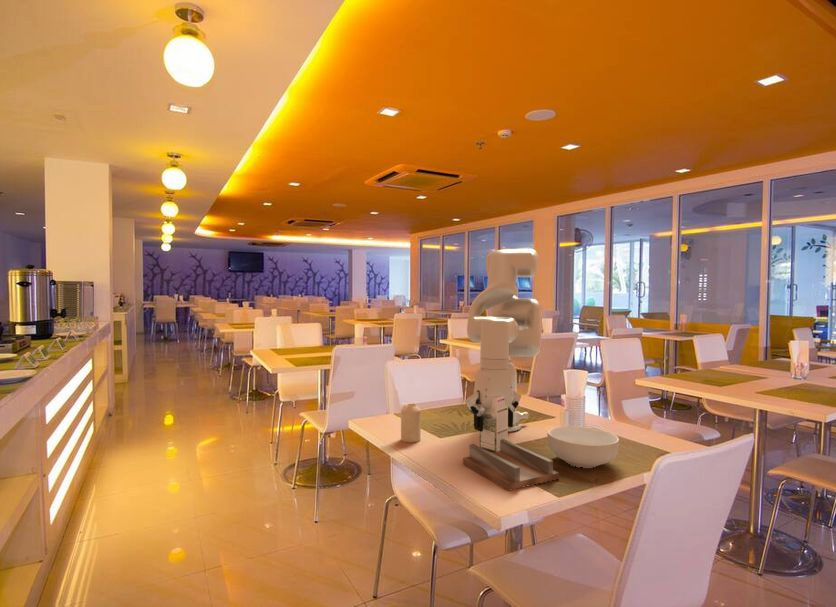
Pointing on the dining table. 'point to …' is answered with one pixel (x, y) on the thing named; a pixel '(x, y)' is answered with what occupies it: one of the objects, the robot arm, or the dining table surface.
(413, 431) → the candle
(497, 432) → the syrup box
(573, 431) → the cereal bowl
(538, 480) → the track board
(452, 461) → the dining table surface
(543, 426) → the dining table surface
